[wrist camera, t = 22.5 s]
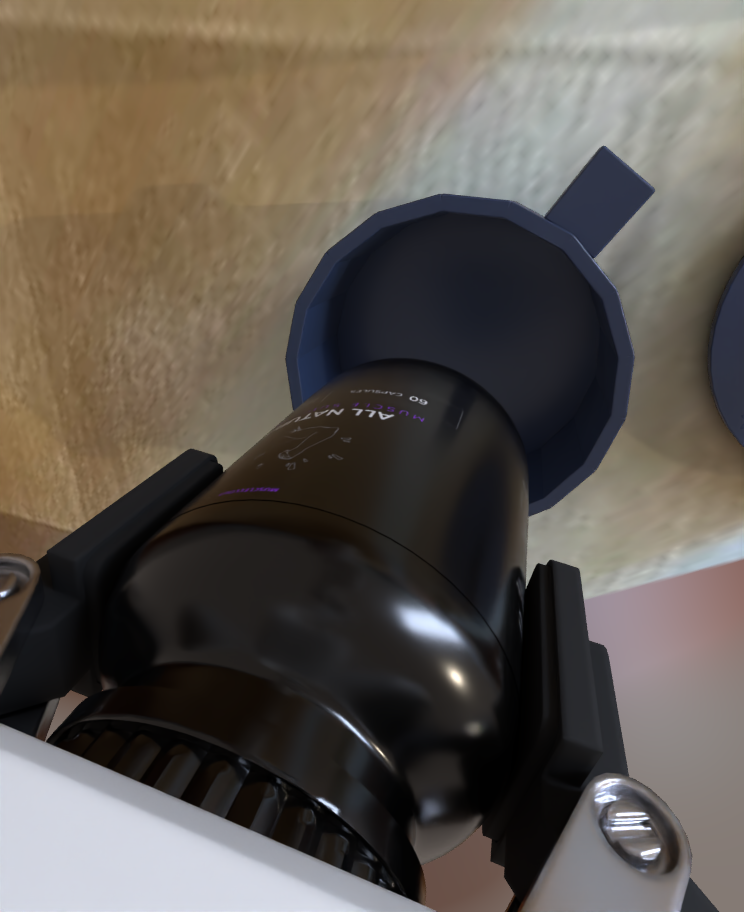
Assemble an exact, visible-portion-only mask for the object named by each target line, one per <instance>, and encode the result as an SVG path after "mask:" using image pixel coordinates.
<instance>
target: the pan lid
mask: <svg viewBox="0 0 744 912" xmlns="http://www.w3.org/2000/svg"><path fill="white" fill-rule="evenodd" d="M708 375H709V382H710V389H711V392H712V395H713V398H714V401H715V405H716V408H717V410H718V412H719V413H720V415H721V417H722V419H723V421H724V423H725V425H726V426H727V428H728V429H729V430H730V432H731V433H732V434H733V436H734V437H735V438H736V440H737V441H738V442H739V443H740V444H741V445H742V446H743V447H744V256H743V258H742V260H741V261H740V263H739V264H738V266H737V268H736V269H735V271H734V272H733V274H732V276H731V277H730V280H729V282H728V284H727V286H726V288H725V290H724V292H723V294H722V297H721V299H720V301H719V304H718V307H717V310H716V313H715V316H714V320H713V323H712V327H711V333H710V339H709V344H708Z"/></svg>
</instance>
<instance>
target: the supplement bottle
mask: <svg viewBox="0 0 744 912" xmlns="http://www.w3.org/2000/svg"><path fill="white" fill-rule="evenodd" d="M528 511H529V472H528V463H527V457H526V453H525V448H524V445H523V442H522V439H521V437H520V435H519V432H518V430H517V428H516V426H515V424H514V423H513V421H512V419H511V418H510V416H509V415H508V413H507V412H506V411H505V409H504V408H503V407H502V405H501V404H500V403H499V402H498V401H497V400H496V399H495V398H494V397H493V396H492V395H491V394H490V393H489V392H488V391H487V390H486V389H484V388H483V387H482V386H481V385H479V384H478V383H476V382H475V381H474V380H472V379H471V378H469V377H467V376H466V375H464V374H462V373H460V372H458V371H456V370H454V369H452V368H449V367H446V366H444V365H441V364H438V363H434V362H430V361H426V360H420V359H413V358H387V359H380V360H374V361H370V362H366V363H363V364H360V365H358V366H355V367H353V368H351V369H349V370H347V371H345V372H343V373H341V374H339V375H338V376H336V377H335V378H333V379H332V380H330V381H329V382H328V383H327V384H325V385H324V386H323V387H322V388H320V389H319V390H318V391H317V392H315V393H314V394H313V395H312V396H310V397H309V398H308V399H307V400H306V401H305V402H304V403H302V404H301V405H300V406H299V407H298V408H297V409H295V410H294V411H293V412H292V413H291V414H290V415H289V416H287V417H286V418H285V419H284V420H283V421H282V422H281V423H279V424H278V425H277V426H276V427H275V428H274V429H272V430H271V431H270V432H269V433H268V434H267V435H266V436H264V437H263V438H262V439H261V440H260V441H259V442H258V443H256V444H255V445H254V446H253V447H252V448H251V449H249V450H248V451H247V452H246V453H245V454H244V455H243V456H241V457H240V458H239V459H238V460H237V461H236V462H234V463H233V464H232V465H231V466H230V467H229V468H228V469H226V470H225V471H224V472H223V473H222V474H221V475H220V476H218V477H217V478H216V479H215V480H214V481H213V482H211V483H210V484H209V485H208V486H207V487H206V488H205V489H203V490H202V491H201V492H200V493H199V494H198V495H197V496H195V497H194V498H193V499H192V500H191V501H190V502H188V503H187V504H186V505H185V506H184V507H183V508H182V509H180V510H179V511H178V512H177V513H176V514H175V515H174V516H172V517H171V518H170V519H169V520H168V521H167V522H166V523H164V524H163V525H162V526H161V527H160V528H159V529H158V530H157V531H156V532H155V533H154V534H153V535H152V536H151V537H150V538H149V539H147V540H146V541H145V542H144V544H143V545H142V546H141V547H140V548H139V549H138V550H137V551H136V552H135V553H134V554H133V555H132V556H131V557H130V558H129V559H128V561H127V562H126V564H125V565H124V567H123V568H122V570H121V571H120V573H119V574H118V576H117V578H116V580H115V582H114V585H113V587H112V589H111V591H110V593H109V596H108V599H107V602H106V605H105V608H104V612H103V616H102V620H101V624H100V632H99V640H98V666H99V673H100V679H101V685H102V688H103V691H100V692H98V693H95V694H93V695H91V696H89V697H88V698H86V699H85V700H84V701H83V702H81V703H80V704H79V705H78V706H77V707H76V708H75V709H74V710H73V711H72V713H71V714H70V715H69V716H68V717H67V718H66V719H65V721H64V722H63V723H62V724H61V725H60V726H59V727H58V728H57V729H56V730H55V731H54V732H53V734H52V735H51V736H50V737H49V738H48V739H47V741H46V743H48V744H51V745H53V746H56V747H58V748H60V749H63V750H65V751H67V752H70V753H72V754H74V755H77V756H79V757H81V758H84V759H86V760H89V761H91V762H93V763H96V764H98V765H100V766H103V767H105V768H107V769H110V770H112V771H114V772H117V773H119V774H121V775H124V776H126V777H128V778H131V779H133V780H135V781H138V782H140V783H142V784H145V785H147V786H149V787H152V788H154V789H156V790H159V791H161V792H163V793H166V794H168V795H170V796H173V797H175V798H177V799H180V800H182V801H184V802H187V803H189V804H191V805H194V806H196V807H198V808H201V809H203V810H205V811H208V812H210V813H212V814H215V815H217V816H219V817H221V818H224V819H226V820H228V821H231V822H233V823H235V824H238V825H240V826H242V827H245V828H247V829H249V830H252V831H254V832H256V833H259V834H261V835H263V836H266V837H268V838H270V839H272V840H275V841H277V842H279V843H282V844H284V845H286V846H289V847H291V848H293V849H295V850H298V851H300V852H302V853H305V854H307V855H309V856H311V857H314V858H316V859H318V860H321V861H323V862H325V863H327V864H330V865H332V866H334V867H337V868H339V869H341V870H344V871H346V872H348V873H350V874H353V875H355V876H357V877H360V878H362V879H364V880H366V881H369V882H371V883H373V884H376V885H378V886H380V887H382V888H385V889H387V890H389V891H392V892H394V893H396V894H398V895H401V896H403V897H405V898H408V899H410V900H412V901H414V902H417V903H419V904H421V905H424V906H425V901H426V884H425V878H424V873H423V870H422V867H421V865H424V864H427V863H429V862H431V861H433V860H436V859H438V858H440V857H442V856H444V855H446V854H447V853H449V852H450V851H452V850H453V849H454V848H456V847H458V846H459V845H461V844H462V843H463V842H464V841H466V839H468V838H469V837H470V836H471V835H472V834H473V833H474V832H475V831H476V830H477V829H478V828H479V827H480V826H481V825H482V824H483V822H484V821H485V820H486V819H487V817H488V816H489V815H490V813H491V812H492V811H493V809H494V808H495V806H496V805H497V803H498V802H499V800H500V798H501V796H502V794H503V792H504V790H505V789H506V787H507V785H508V782H509V779H510V776H511V773H512V770H513V767H514V764H515V760H516V753H517V747H518V739H519V728H520V719H521V697H522V671H523V645H524V618H525V591H526V564H527V538H528Z"/></svg>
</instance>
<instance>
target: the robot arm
mask: <svg viewBox="0 0 744 912" xmlns="http://www.w3.org/2000/svg"><path fill="white" fill-rule="evenodd" d="M222 473H223V467H222V465H221V464H218V462H217V458H216V457H215V456H214V455H211V454H208V453H205V452H201V451H198V450H195V449H189V450H187V451H185V452H184V453H182V454H181V455H180V456H178V457H177V458H176V459H174V460H173V461H171V462H170V463H169V464H167V465H166V466H164V467H163V468H162V469H160V470H159V471H157V472H156V473H155V474H153V475H152V476H151V477H149V478H148V479H146V480H145V481H144V482H142V483H141V484H139V485H138V486H137V487H135V488H134V489H132V490H131V491H130V492H128V493H127V494H126V495H124V496H123V497H121V498H120V499H119V500H117V501H116V502H114V503H113V504H112V505H110V506H109V507H107V508H106V509H105V510H103V511H102V512H101V513H99V514H98V515H96V516H95V517H94V518H92V519H91V520H89V521H88V522H87V523H85V524H84V525H82V526H81V527H80V528H78V529H77V530H76V531H74V532H73V533H71V534H70V535H69V536H67V537H66V538H64V539H63V540H62V541H60V542H59V543H57V544H56V545H55V546H53V547H52V548H51V549H49V550H48V551H47V554H46V555H45V556H43V557H42V558H41V559H39V560H38V561H37V562H35V561H34V560H33V559H32V558H30V557H27V556H24V555H22V554H14V553H0V912H437V911H435V910H432V909H430V908H428V907H426V906H424V905H421V904H419V903H417V902H414V901H412V900H410V899H408V898H405V897H403V896H401V895H398V894H396V893H394V892H392V891H389V890H387V889H385V888H382V887H380V886H378V885H376V884H373V883H371V882H369V881H366V880H364V879H362V878H360V877H357V876H355V875H353V874H350V873H348V872H346V871H344V870H341V869H339V868H337V867H334V866H332V865H330V864H327V863H325V862H323V861H321V860H318V859H316V858H314V857H311V856H309V855H307V854H305V853H302V852H300V851H298V850H295V849H293V848H291V847H289V846H286V845H284V844H282V843H279V842H277V841H275V840H272V839H270V838H268V837H266V836H263V835H261V834H259V833H256V832H254V831H252V830H249V829H247V828H245V827H242V826H240V825H238V824H235V823H233V822H231V821H228V820H226V819H224V818H221V817H219V816H217V815H215V814H212V813H210V812H208V811H205V810H203V809H201V808H198V807H196V806H194V805H191V804H189V803H187V802H184V801H182V800H180V799H177V798H175V797H173V796H170V795H168V794H166V793H163V792H161V791H159V790H156V789H154V788H152V787H149V786H147V785H145V784H142V783H140V782H138V781H135V780H133V779H131V778H128V777H126V776H124V775H121V774H119V773H117V772H114V771H112V770H110V769H107V768H105V767H103V766H100V765H98V764H96V763H93V762H91V761H89V760H86V759H84V758H81V757H79V756H77V755H74V754H72V753H70V752H67V751H65V750H63V749H60V748H58V747H56V746H53V745H51V744H48V743H46V742H45V739H46V736H47V733H48V730H49V728H50V725H51V722H52V720H53V717H54V714H55V711H56V708H57V706H58V703H59V700H60V698H61V697H64V696H65V695H66V694H67V693H68V692H69V691H70V690H72V691H74V692H77V693H79V694H82V695H84V696H87V697H89V696H91V695H93V694H95V693H98V692H100V691H102V690H103V688H102V685H101V679H100V673H99V666H98V640H99V632H100V624H101V620H102V616H103V612H104V608H105V605H106V602H107V599H108V596H109V593H110V591H111V589H112V587H113V585H114V582H115V580H116V578H117V576H118V574H119V573H120V571H121V570H122V568H123V567H124V565H125V564H126V562H127V561H128V559H129V558H130V557H131V556H132V555H133V554H134V553H135V552H136V551H137V550H138V549H139V548H140V547H141V546H142V545H143V544H144V542H145V541H146V540H147V539H149V538H150V537H151V536H152V535H153V534H154V533H155V532H156V531H157V530H158V529H159V528H160V527H161V526H162V525H163V524H164V523H166V522H167V521H168V520H169V519H170V518H171V517H172V516H174V515H175V514H176V513H177V512H178V511H179V510H180V509H182V508H183V507H184V506H185V505H186V504H187V503H188V502H190V501H191V500H192V499H193V498H194V497H195V496H197V495H198V494H199V493H200V492H201V491H202V490H203V489H205V488H206V487H207V486H208V485H209V484H210V483H211V482H213V481H214V480H215V479H216V478H217V477H218V476H220V475H221V474H222ZM482 833H483V836H486V837H488V838H491V839H492V847H491V862H494V863H496V864H499V865H501V866H503V867H505V870H504V878H505V879H506V881H507V883H508V884H509V886H510V887H511V889H512V891H513V892H514V896H513V898H512V900H511V902H510V903H509V905H508V907H507V909H506V911H505V912H719V911H718V910H717V909H716V907H715V906H714V905H713V904H712V903H711V902H710V900H709V899H708V898H707V897H706V896H705V895H704V893H703V892H702V891H701V890H700V889H699V888H698V886H697V885H696V884H695V883H694V882H693V880H692V879H691V878H690V873H691V866H692V853H691V849H690V845H689V841H688V837H687V835H686V833H685V831H684V830H683V827H682V825H681V823H680V822H679V820H678V818H677V817H676V816H675V814H674V813H673V812H672V810H671V809H670V808H669V806H668V805H667V804H666V803H665V802H664V801H663V800H662V799H661V798H660V797H659V796H657V794H656V793H654V792H653V791H652V790H651V789H650V788H648V787H646V786H645V785H643V784H642V783H640V782H639V781H637V780H635V779H633V778H630V777H629V774H628V768H627V762H626V756H625V751H624V744H623V739H622V732H621V727H620V721H619V715H618V709H617V703H616V698H615V691H614V686H613V679H612V674H611V668H610V662H609V656H608V653H607V649H606V648H605V647H604V645H601V644H598V643H595V642H592V641H589V638H588V631H587V623H586V615H585V607H584V600H583V592H582V584H581V577H580V571H579V569H578V568H576V567H573V566H570V565H567V564H563V563H560V562H557V561H554V560H549V561H548V563H547V565H543V564H540V563H538V564H537V565H536V567H535V569H534V571H533V574H532V576H531V578H530V581H529V583H528V585H527V588H526V591H525V618H524V645H523V671H522V697H521V719H520V728H519V739H518V747H517V753H516V760H515V764H514V767H513V770H512V773H511V776H510V779H509V782H508V785H507V787H506V789H505V790H504V792H503V794H502V796H501V798H500V800H499V802H498V803H497V805H496V806H495V808H494V809H493V811H492V812H491V813H490V815H489V816H488V817H487V819H486V820H485V821H484V822H483V824H482Z"/></svg>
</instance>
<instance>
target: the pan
mask: <svg viewBox="0 0 744 912" xmlns="http://www.w3.org/2000/svg"><path fill="white" fill-rule="evenodd" d="M654 192H655V189H654V188H653V187H652V186H651V185H650V184H649V183H648V182H646V181H645V180H644V179H643V178H642V177H641V176H639V175H638V174H637V173H636V172H635V171H634V170H633V169H631V168H630V167H629V166H628V165H627V164H626V163H624V162H623V161H622V160H621V159H620V158H619V157H617V156H616V155H615V154H614V153H613V152H612V151H610V150H609V149H608V148H607V147H606V146H602V147H601V148H599V149H598V150H597V152H596V153H595V154H594V155H593V157H592V158H591V159H590V160H589V161H588V163H587V164H586V165H585V166H584V168H583V169H582V170H581V171H580V173H579V174H578V175H577V176H576V178H575V179H574V180H573V181H572V182H571V184H570V185H569V186H568V187H567V189H566V190H565V191H564V192H563V194H562V195H561V196H560V197H559V199H558V200H557V201H556V202H555V203H554V205H553V206H552V207H551V208H550V210H549V211H548V212H547V213H546V215H545V217H544V216H542V215H540V214H538V213H536V212H534V211H533V210H531V209H529V208H527V207H525V206H523V205H522V204H520V203H518V202H515V201H510V200H500V199H490V198H481V197H471V196H461V195H451V194H437V195H434V196H431V197H427V198H424V199H420V200H417V201H414V202H410V203H407V204H403V205H400V206H397V207H393V208H390V209H386V210H383V211H379V212H377V213H375V214H374V215H372V216H371V217H370V218H368V219H367V220H366V221H365V222H363V223H362V224H361V225H360V226H358V227H357V228H356V229H354V230H353V231H352V232H351V233H349V234H348V235H347V236H345V237H344V238H343V239H342V240H340V241H339V242H338V243H337V244H335V245H334V246H333V247H331V248H330V249H329V250H328V251H327V252H326V253H325V254H324V256H323V258H322V259H321V261H320V263H319V264H318V266H317V268H316V269H315V271H314V273H313V274H312V276H311V278H310V279H309V281H308V283H307V284H306V286H305V288H304V289H303V291H302V293H301V295H300V296H299V298H298V300H297V301H296V304H295V309H294V314H293V320H292V325H291V330H290V336H289V341H288V346H287V352H286V358H285V360H286V366H287V373H288V380H289V386H290V393H291V400H292V406H293V410H295V409H297V408H298V407H299V406H300V405H301V404H302V403H304V402H305V401H306V400H307V399H308V398H309V397H310V396H312V395H313V394H314V393H315V392H317V391H318V390H319V389H320V388H322V387H323V386H324V385H325V384H327V383H328V382H329V381H330V380H332V379H333V378H335V377H336V376H338V375H339V374H341V373H343V372H345V371H347V370H349V369H351V368H353V367H355V366H358V365H360V364H363V363H366V362H370V361H374V360H380V359H387V358H413V359H420V360H426V361H430V362H434V363H438V364H441V365H444V366H446V367H449V368H452V369H454V370H456V371H458V372H460V373H462V374H464V375H466V376H467V377H469V378H471V379H472V380H474V381H475V382H476V383H478V384H479V385H481V386H482V387H483V388H484V389H486V390H487V391H488V392H489V393H490V394H491V395H492V396H493V397H494V398H495V399H496V400H497V401H498V402H499V403H500V404H501V405H502V407H503V408H504V409H505V411H506V412H507V413H508V415H509V416H510V418H511V419H512V421H513V423H514V424H515V426H516V428H517V430H518V432H519V435H520V437H521V439H522V442H523V445H524V448H525V453H526V457H527V463H528V472H529V511H528V517H529V516H531V515H534V514H537V513H539V512H542V511H544V510H547V509H550V508H551V507H553V506H554V505H555V504H556V503H558V502H559V501H560V500H561V499H562V498H564V497H565V496H566V495H567V494H568V493H570V492H571V491H572V490H573V489H574V488H576V487H577V486H578V485H579V484H580V483H582V482H583V481H584V480H585V479H586V478H588V477H589V476H590V475H591V474H592V473H594V472H595V470H597V468H598V466H599V465H600V463H601V461H602V459H603V458H604V456H605V454H606V452H607V451H608V449H609V447H610V445H611V444H612V442H613V440H614V438H615V437H616V435H617V433H618V431H619V430H620V428H621V426H622V424H623V423H624V421H625V418H626V415H627V408H628V401H629V394H630V387H631V380H632V373H633V366H634V359H635V356H634V349H633V345H632V342H631V338H630V334H629V330H628V327H627V323H626V319H625V315H624V312H623V308H622V304H621V300H620V297H619V293H618V291H617V289H616V287H615V286H614V285H613V283H612V282H611V281H610V280H609V278H608V277H607V276H606V275H605V273H604V272H603V271H602V270H601V268H600V267H599V266H598V264H597V263H596V262H595V261H594V259H593V258H595V257H596V256H597V255H598V254H599V253H600V252H601V251H602V250H603V248H604V247H605V246H606V245H607V244H608V243H609V242H610V241H611V240H612V239H613V237H614V236H615V235H616V234H617V233H618V232H619V231H620V230H621V229H622V227H623V226H624V225H625V224H626V223H627V222H628V221H629V220H630V219H631V218H632V216H633V215H634V214H635V213H636V212H637V211H638V210H639V209H640V208H641V207H642V205H643V204H644V203H645V202H646V201H647V200H648V199H649V198H650V197H651V195H652V194H653V193H654Z"/></svg>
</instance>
